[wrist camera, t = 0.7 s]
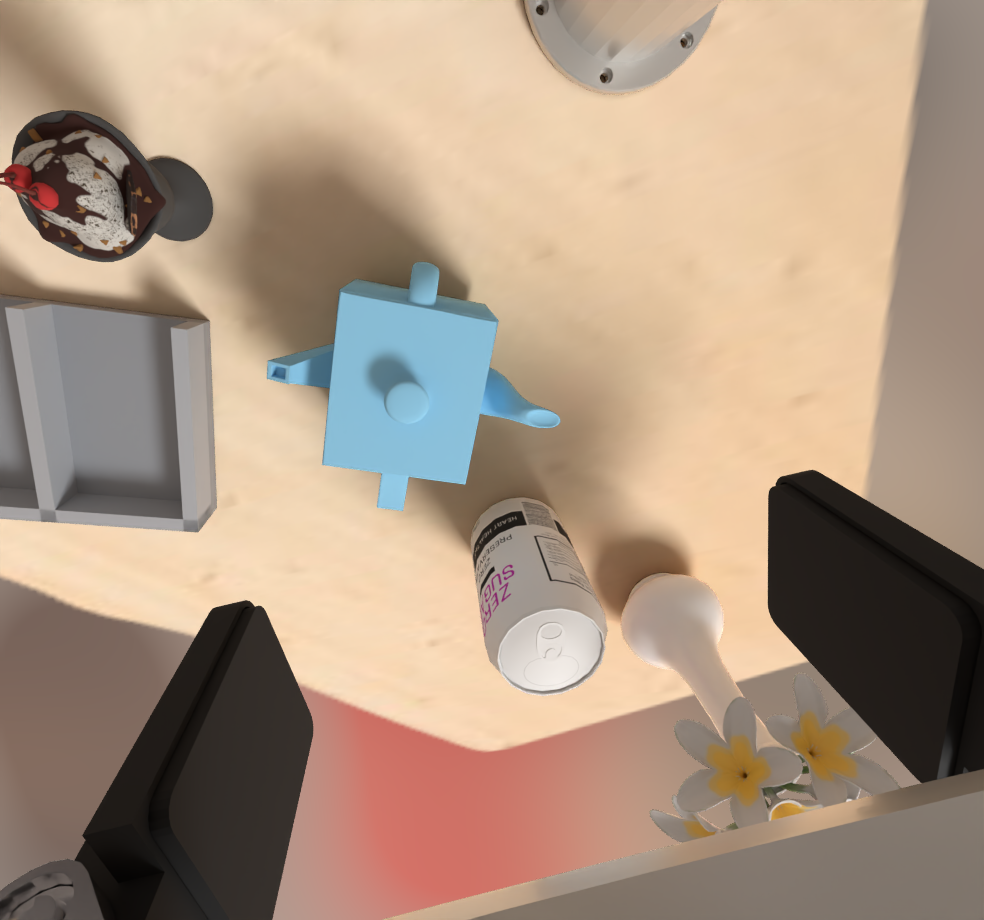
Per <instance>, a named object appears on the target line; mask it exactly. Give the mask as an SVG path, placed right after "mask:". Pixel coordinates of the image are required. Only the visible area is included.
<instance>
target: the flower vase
mask: <svg viewBox="0 0 984 920" xmlns="http://www.w3.org/2000/svg"><path fill="white" fill-rule="evenodd" d="M723 627H724V615H723V608H722V605H721V603H720V601H719V599H718V597H717V594H716V593H715V592H714V591H713V590H712V589H711V588H710V587H709V585H708V584H707V583H705V582H703V581H701V580H699V579H697V578H695V577H692V576H688V575H683V574H670V573H657V574H653V575H650V576H648V577H646V578H644V579H642V580H641V581H640V582H639V583H637V584H636V585H635V587H634V588H633V589H632V591H631V593H630V595H629V597H628V601H627V603H626V605H625V607H624V610H623V612H622V619H621V630H622V636H623V639H624V641H625V642H626V644H627V646H628V648H629V649H630V650H631V651H632V652H633V653H634V654H635V655H636V656H637V657H638V658H639V659H641V660H642V661H643V662H645V663H647V664H650V665H652V666H654V667H657V668H661V669H668V670H673V671H674V672H676V673H677V674H679V675H680V676H681V677H682V678H683V679H684V681H685V682H686V683H687V684H688V686H689V687H690V688H691V690H692V691H693V693H694V694H695V696H696V697H697V699H698V700H699V702H700V703H701V705H702V706H703V708H704V709H705V711H706V712H707V714H708V716H709V717H710V719H711V720H712V722H713V723H714V725H715V727H716V729H717V730H718V732H719V734H720V736H721V737H720V736H719V735H718V734H716V733H715V732H714V731H712V730H711V729H710V728H708V727H706V726H705V725H703V724H701V723H699V722H696V721H694V720H689V719H682V720H679V721H677V723H676V724H675V726H674V732H675V736H676V738H677V740H678V742H679V743H680V745H681V746H682V747H683V748H684V750H685V751H686V752H687V753H688V754H689V755H691V756H692V757H693V758H694V759H695V760H697V761H698V762H700V763H701V764H703V765H705V766H706V767H708V768H710V769H702V770H699V771H697V772H695V773H693V774H692V775H690V776H689V777H688V778H687V779H686V780H685V781H684V782H683V784H682V785H681V787H680V789H679V791H678V794H677V796H676V795H673V796H672V803H673V805H674V807H675V809H676V811H677V812H678V814H679V815H680V816H681V817H678V816H675V815H672V814H669V813H666V812H663V811H659V810H654V809H653V810H650V817H651V818H652V820H653V821H654V823H655V824H656V825H657V826H658V827H659V828H660V829H661V830H662V831H663V832H664V833H666V834H667V835H668V836H670V837H671V838H673V839H675V840H677V841H679V842H682V843H683V842H687V841H691V840H695V839H699V838H703V837H707V836H711V835H715V834H719V833H723V832H727V831H731V830H735V829H739V828H743V827H747V826H751V825H755V824H759V823H763V822H767V821H771V820H775V819H779V818H783V817H787V816H791V815H795V814H800V813H804V812H808V811H812V810H816V809H820V808H824V807H828V806H832V805H836V804H840V803H844V802H848V801H852V800H856V799H857V798H858V796H859V793H860V789H862V790H863V791H865V792H867V793H869V794H870V795H872V796H873V795H877V794H881V793H885V792H889V791H893V790H897V789H901V788H900V786H899V785H898V783H897V782H896V781H895V780H894V778H893V777H892V776H891V775H890V774H889V773H888V772H887V771H886V770H885V769H883V768H882V767H881V766H880V765H879V764H877V763H875V762H874V761H872V760H871V759H869V758H867V757H865V756H862V755H856V754H853V753H854V752H855V751H857V750H861V749H862V748H864V747H866V746H868V745H869V744H870V743H872V742H873V741H874V740H875V739H876V738H877V735H876V734H875V733H874V732H873V731H872V729H871V728H870V727H869V726H868V725H867V724H866V723H865V722H864V721H863V720H862V719H861V717H860V716H859V715H858V714H857V713H856V712H855V711H854V710H853V709H852V708H851V707H849V708H846V709H844V710H842V711H840V712H839V713H838V714H836V715H834V716H833V717H832V718H831V719H830V720H828V721H827V722H826V719H827V715H828V709H827V704H826V701H825V698H824V696H823V694H822V692H821V691H820V689H819V687H818V686H817V684H816V683H815V682H814V681H813V680H812V679H811V678H810V677H809V676H808V675H807V674H804V673H797V674H796V675H795V677H794V679H793V691H794V697H795V703H796V706H797V711H798V722H797V720H795V719H794V718H793V717H790V716H787V715H782V714H776V715H772V716H770V717H769V718H768V719H767V721H766V726H767V727H766V726H765V725H764V724H763V722H762V721H761V720H760V719H759V718H758V716H757V715H756V714H755V712H754V709H753V706H752V704H751V703H750V701H749V700H747V698H744V696H743V695H742V693H741V692H740V690H739V688H738V687H737V685H736V684H735V682H734V680H733V679H732V677H731V676H730V674H729V672H728V671H727V669H726V667H725V665H724V663H723V661H722V659H721V657H720V653H719V649H718V643H719V641H720V639H721V636H722V631H723ZM825 722H826V723H825ZM798 754H799V755H798ZM803 762H806V764H807V766H803V765H802V763H803ZM806 773H809V774H810V778H811V784H809V785H801V784H795V783H796V782H797V780H798V779H799V777H800V775H801V774H806ZM787 790H789V791H793V792H797V793H806V794H810V795H811V796H812V797H813V798H814V799H815V800H796V799H780V798H778V796H777V795H779V794H782V793H784V792H785V791H787ZM731 797H732V798H731ZM730 798H731V800H730V802H729V806H730V811H731V814H732V817H733V819H734V821H735V822H734V823H732V824H730V825H728V826H727V827H726V828H724V829H721V828H719V827H717V826H716V825H714V824H712V823H711V822H709V821H708V820H706V819H705V818H703V817H702V816H700V815H699V814H698V813H697V812H701V811H705V810H707V809H710V808H712V807H714V806H715V805H718V804H719V803H721V802H723V801H725V800H727V799H730ZM766 798H770V800H771V805H769V804H768V802H767V801H766Z"/></svg>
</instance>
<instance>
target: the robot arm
mask: <svg viewBox="0 0 984 920" xmlns="http://www.w3.org/2000/svg"><path fill="white" fill-rule="evenodd" d="M722 1H723V0H524V4H525V10H526V14H527V17H528V20H529V23H530V26H531V29H532V32H533V34H534V36H535V38H536V40H537V42H538V44H539V45H540V47H541V49H542V51H543V53H544V54H545V55H546V57H547V58H548V59H549V60H550V62H551V63H552V64H553V65H554V67H555V68H556V69H557V70H558V71H559V72H561V73H562V74H563V75H564V76H565V77H566V78H568V79H569V80H570V81H571V82H573V83H575V84H577V85H579V86H581V87H583V88H585V89H586V90H590V91H593V92H597V93H601V94H609V95H624V94H629V93H634V92H639V91H641V90H643V89H646V88H648V87H650V86H653V85H655V84H657V83H658V82H660V81H661V80H663V79H664V78H666V77H668V76H669V75H670V74H672V73H673V72H674V71H675V70H676V69H677V68H679V67H680V66H681V65H682V64H683V63H684V62H685V61H686V60H687V59H688V58H689V57H690V55H691V54H692V53H693V52H694V51H695V49H696V48H697V47H698V45H699V43H700V42H701V40H702V38H703V37H704V35H705V33H706V32H707V30H708V28H709V26H710V24H711V21H712V19H713V16H714V14H715V11H716V9H717V6H718V4H719V3H720V2H722ZM539 7H540V8H542V10H543V15H539V14H537V12H536V9H537V8H539ZM680 40H682V41H683V42H684V48H683V47H682V46H681V44H680ZM600 75H604V76H605V78H606V81H605V83H602V82H601V80H600ZM768 609H769V613H770V615H771V618H772V619H773V621H774V623H775V624H776V625H777V627H778V628H779V629H780V630H781V631H782V632H783V633H784V634H785V635H786V636H787V638H788V639H789V640H790V641H791V642H792V643H793V644H794V645H795V646H796V647H797V648H798V650H799V651H800V652H801V653H802V654H803V655H804V656H805V657H806V658H807V659H808V661H809V662H810V663H811V664H812V665H813V666H814V667H815V668H816V669H817V670H818V671H819V673H820V674H821V675H822V676H823V677H824V678H825V679H826V680H827V681H828V682H829V683H830V684H831V686H832V687H833V688H834V689H835V690H836V691H837V692H838V693H839V694H840V695H841V697H842V698H843V699H844V700H845V701H846V702H847V703H848V704H849V705H850V706H851V708H852V709H853V710H854V711H855V712H856V713H857V714H858V715H859V716H860V717H861V719H862V720H863V721H864V722H865V723H866V724H867V725H868V726H869V727H870V728H871V729H872V731H873V732H874V733H875V734H876V735H877V736H878V737H879V738H880V739H881V740H882V741H883V743H884V744H885V745H886V746H887V747H888V748H889V749H890V750H891V751H892V752H893V754H894V755H895V756H896V757H897V758H898V759H899V760H900V761H901V762H902V763H903V764H904V765H905V767H906V768H907V769H908V770H909V771H910V772H911V773H912V774H913V775H914V776H915V777H916V778H917V779H918V780H919V781H920V782H921V784H917V785H913V786H909V787H905V788H901V789H897V790H893V791H889V792H885V793H881V794H877V795H873V796H868V797H864V798H860V799H856V800H852V801H848V802H844V803H840V804H836V805H832V806H828V807H824V808H820V809H816V810H812V811H808V812H804V813H800V814H795V815H791V816H787V817H783V818H779V819H775V820H771V821H767V822H763V823H759V824H755V825H751V826H747V827H743V828H739V829H735V830H731V831H727V832H723V833H719V834H715V835H711V836H707V837H703V838H699V839H695V840H691V841H687V842H683V843H679V844H676V845H671V846H667V847H664V848H660V849H656V850H652V851H648V852H644V853H640V854H636V855H632V856H628V857H624V858H620V859H616V860H612V861H609V862H605V863H600V864H596V865H592V866H588V867H585V868H581V869H577V870H573V871H569V872H565V873H561V874H557V875H553V876H549V877H545V878H542V879H538V880H534V881H529V882H526V883H522V884H518V885H514V886H510V887H506V888H502V889H498V890H495V891H491V892H487V893H483V894H479V895H475V896H471V897H467V898H464V899H460V900H456V901H452V902H448V903H444V904H441V905H437V906H433V907H429V908H425V909H422V910H417V911H414V912H410V913H406V914H402V915H398V916H394V917H391V918H387V919H383V920H984V569H982V568H980V567H979V566H977V565H975V564H974V563H972V562H970V561H968V560H967V559H965V558H963V557H962V556H960V555H958V554H957V553H955V552H953V551H952V550H950V549H948V548H947V547H945V546H943V545H941V544H940V543H938V542H936V541H934V540H933V539H931V538H930V537H928V536H926V535H924V534H923V533H921V532H919V531H918V530H916V529H914V528H913V527H911V526H909V525H908V524H906V523H904V522H902V521H901V520H899V519H897V518H896V517H894V516H892V515H890V514H889V513H887V512H885V511H884V510H882V509H880V508H879V507H877V506H875V505H874V504H872V503H870V502H869V501H867V500H865V499H863V498H862V497H860V496H858V495H857V494H855V493H853V492H852V491H850V490H848V489H846V488H845V487H843V486H841V485H840V484H838V483H836V482H835V481H833V480H831V479H830V478H828V477H826V476H824V475H823V474H821V473H819V472H817V471H815V470H808V471H804V472H799V473H795V474H791V475H786V476H782V477H780V478H779V479H778V480H777V482H776V486H774V487H772V488H771V489H770V491H769V496H768ZM312 737H313V721H312V716H311V713H310V711H309V709H308V707H307V704H306V702H305V700H304V697H303V695H302V693H301V691H300V688H299V686H298V684H297V682H296V679H295V677H294V675H293V672H292V670H291V668H290V666H289V663H288V661H287V659H286V657H285V654H284V652H283V650H282V647H281V645H280V643H279V641H278V638H277V636H276V634H275V632H274V629H273V627H272V625H271V622H270V620H269V618H268V616H267V613H266V611H265V610H264V608H263V607H262V606H256V607H254V605H253V604H252V603H251V602H250V601H247V600H245V601H241V602H237V603H232V604H228V605H224V606H219V607H216V608H213V609H212V610H211V611H210V613H209V614H208V616H207V618H206V620H205V621H204V623H203V625H202V627H201V628H200V630H199V632H198V634H197V635H196V637H195V639H194V641H193V642H192V644H191V646H190V648H189V650H188V651H187V653H186V655H185V657H184V658H183V660H182V662H181V664H180V665H179V667H178V669H177V671H176V672H175V674H174V676H173V678H172V679H171V681H170V683H169V685H168V686H167V688H166V690H165V692H164V693H163V695H162V697H161V699H160V700H159V702H158V704H157V706H156V707H155V709H154V711H153V713H152V715H151V716H150V718H149V720H148V721H147V723H146V725H145V727H144V729H143V730H142V732H141V734H140V735H139V737H138V739H137V741H136V742H135V744H134V746H133V748H132V749H131V751H130V753H129V755H128V757H127V758H126V760H125V762H124V763H123V765H122V767H121V769H120V770H119V772H118V774H117V776H116V777H115V779H114V781H113V783H112V785H111V786H110V788H109V790H108V791H107V793H106V795H105V797H104V799H103V800H102V802H101V804H100V806H99V807H98V809H97V811H96V813H95V814H94V816H93V818H92V820H91V822H90V823H89V825H88V826H87V828H86V830H85V832H84V834H83V837H84V839H85V840H86V841H85V842H84V844H83V846H82V848H81V850H80V851H79V853H78V855H77V857H76V859H75V860H70V859H65V860H59V861H53V862H49V863H47V864H44V865H42V866H40V867H37V868H35V869H33V870H31V871H29V872H27V873H26V874H24V875H22V876H21V877H19V878H18V879H16V880H14V881H13V882H11V883H10V884H8V885H7V886H6V887H4V888H3V889H2V890H1V891H0V920H272V918H273V914H274V909H275V905H276V900H277V896H278V891H279V886H280V882H281V878H282V873H283V868H284V864H285V859H286V855H287V850H288V846H289V841H290V837H291V832H292V828H293V823H294V819H295V814H296V810H297V804H298V801H299V796H300V792H301V787H302V782H303V778H304V774H305V769H306V765H307V760H308V756H309V751H310V747H311V742H312Z"/></svg>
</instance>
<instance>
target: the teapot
mask: <svg viewBox="0 0 984 920" xmlns="http://www.w3.org/2000/svg"><path fill="white" fill-rule="evenodd" d="M438 281H439V269H438V268H437V267H436V266H435V265H433V264H431V263H427V262H417V263H415V264H414V265H413V267H412V273H411V280H410V286H409V289H405V288H400V287H395V286H390V285H385V284H380V283H375V282H370V281H365V280H360V279H355V280H354V281H352V282H350V283H349V284H347V285H346V286H344V287H343V288H341V289H340V290H339V300H338V310H337V320H336V330H335V340H334V344H330V345H326V346H322V347H318V348H314V349H311V350H307V351H303V352H299V353H295V354H292V355H288V356H284V357H280V358H276V359H273V360H269V361H268V367H267V379H270V380H274V381H278V382H282V383H286V384H290V383H292V384H300V385H309V386H317V387H325V388H330V391H329V401H328V411H327V421H326V432H325V442H324V452H323V462H322V465H327V466H334V467H341V468H349V469H356V470H363V471H371V472H378V473H382V474H381V481H380V489H379V496H378V503H377V508H384V509H392V510H400V511H403V507H404V502H405V496H406V490H407V484H408V478H409V477H414V478H421V479H429V480H436V481H443V482H450V483H458V484H466V479H467V474H468V469H469V464H470V459H471V455H472V450H473V445H474V440H475V435H476V430H477V425H478V420H479V415H480V414H484V415H490V416H496V417H501V418H506V419H509V420H513V421H516V422H519V423H523V424H526V425H529V426H533V427H538V428H552V427H555V426H557V425H559V423H560V418H559V416H558V415H557V414H555V413H554V412H552V411H550V410H548V409H545V408H542V407H539V406H536V405H534V404H532V403H530V402H528V401H527V400H525V399H524V398H523V397H522V396H521V395H520V394H519V393H518V392H517V391H516V390H515V388H514V387H513V386H512V385H511V383H510V382H509V381H508V380H507V379H506V378H505V377H504V376H503V375H502V374H500V373H499V372H497V371H496V370H494V369H492V368H490V367H489V366H490V361H491V356H492V351H493V346H494V341H495V336H496V331H497V326H498V321H499V320H498V319H497V318H496V317H495V316H494V315H493V313H492V312H491V311H490V310H489V309H488V307H487V306H486V305H485V304H481V303H476V302H471V301H466V300H461V299H456V298H450V297H445V296H440V295H437V288H438Z"/></svg>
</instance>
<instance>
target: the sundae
mask: <svg viewBox="0 0 984 920" xmlns="http://www.w3.org/2000/svg"><path fill="white" fill-rule="evenodd" d="M3 177H4V180H5V182H1V181H0V184H2V185H6V186H8V187H9V188H11V189H12V190H13V191H15V192H16V193H17V197H18V199H19V202H20V204H21V207H22V209H23V211H24V213H25V214H26V216H27V218H28V220H29V221H30V222H31V223H32V225H33V226H34V227H35V228H36V229H37V230H38V231H39V233H40V235H41V236H42V238H43V239H45V240H46V241H48V242H51V243H52V244H54V245H56V246H58V247H59V248H61V249H63V250H65V251H67V252H69V253H71V254H73V255H75V256H78V257H81V258H84V259H88V260H92V261H99V262H114V261H118V260H122V259H124V258H126V257H129V256H131V255H133V254H134V253H136V252H137V251H138V250H139V249H141V248H142V247H143V246H144V245H145V244H146V243H147V242H148V241H149V240H150V239H151V237H152V235H153V234H154V233H157V234H158V235H160V236H162V237H164V238H166V239H169V240H174V241H188V240H191V239H194V238H197V237H198V236H200V235H201V234H202V233H203V232H204V231H205V230H206V229H207V228H208V226H209V224H210V221H211V218H212V215H213V204H212V198H211V195H210V192H209V190H208V187H207V185H206V183H205V182H204V181H203V179H202V178H201V177H200V176H199V175H198V174H197V172H196V171H195V170H193V169H192V168H191V167H189V166H188V165H186V164H184V163H182V162H180V161H177V160H173V159H167V158H160V159H155V160H152V161H149V162H148V161H146V159H145V158H144V156H143V155H142V154H141V153H140V152H139V150H138V149H137V148H136V147H135V145H134V144H133V143H132V142H131V141H130V140H129V139H128V138H127V137H126V136H125V135H124V134H123V133H122V132H121V131H119V130H118V129H117V128H115V127H114V126H113V125H111V124H110V123H108V122H106V121H105V120H103V119H101V118H100V117H97V116H95V115H92V114H89V113H84V112H79V111H64V110H62V111H56V112H51V113H47V114H44V115H41V116H38V117H36V118H34V119H33V120H32V121H30V122H29V123H28V124H27V125H25V126H24V128H23V129H22V130H21V131H20V133H19V134H18V135H17V137H16V141H15V144H14V147H13V153H12V165H11V166H9V167H8V168H7V169H6V170H5V172H4V173H0V178H3Z"/></svg>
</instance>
